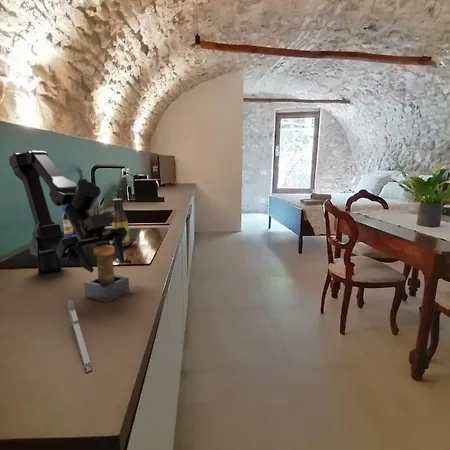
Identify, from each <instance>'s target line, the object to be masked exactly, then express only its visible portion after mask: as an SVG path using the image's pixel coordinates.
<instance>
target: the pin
mask: <svg viewBox="0 0 450 450" xmlns="http://www.w3.org/2000/svg"><path fill="white" fill-rule="evenodd" d="M114 253H115V251H114V246H111V245H108V244H106V245H105V244H104V245H99V246H95V247H93V255H94V256H96V257H95V258H96V266H97V267H96V268H97V277H98V279H99V284H102V285H108V284H110V283H113V282H115V280H114V275H115V270H114V260H113V258H114V257H113V255H114Z"/></svg>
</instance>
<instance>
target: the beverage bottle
mask: <svg viewBox="0 0 450 450" xmlns="http://www.w3.org/2000/svg"><path fill="white" fill-rule="evenodd" d="M61 207H62V208H61V212H62V215H61V218H62V224H63V232H64V234H63V236H64V238H66V237H71V236H77V234H73V232H72V231H73V229H74V228H73V227H72V225H71V223H70V221H69V220H68V219H63V215H64V211H65V208H66V207H67V205H65V206H61ZM77 237H78V236H77ZM78 239H79V237H78ZM79 240H80V239H79Z"/></svg>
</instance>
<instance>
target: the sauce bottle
mask: <svg viewBox="0 0 450 450" xmlns="http://www.w3.org/2000/svg"><path fill="white" fill-rule="evenodd" d="M123 203H124V201H123V198H113V199H112V204H113V212H112V215H113V217H114V221H113V222H112V223H111V225H112V228H117V227H125V229H126V230H127V232H128V234H127V235H126V237H125V238H124V240H123V241H122V248H123V247H128V246H129V245H130V233H129V224H128V217H127V214H126V212H125V210H124V206H123Z"/></svg>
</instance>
